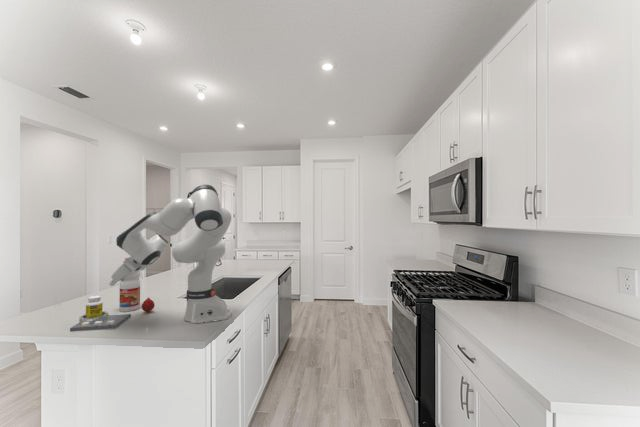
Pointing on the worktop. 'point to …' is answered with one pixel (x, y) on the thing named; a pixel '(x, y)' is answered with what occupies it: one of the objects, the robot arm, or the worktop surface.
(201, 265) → the robot arm
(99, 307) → the pill bottle
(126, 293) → the fruit juice
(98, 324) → the plate
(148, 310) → the strawberry
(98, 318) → the lockout collar
